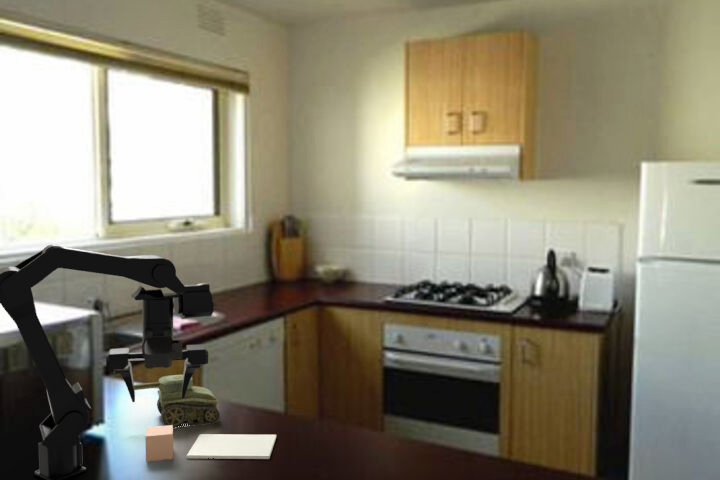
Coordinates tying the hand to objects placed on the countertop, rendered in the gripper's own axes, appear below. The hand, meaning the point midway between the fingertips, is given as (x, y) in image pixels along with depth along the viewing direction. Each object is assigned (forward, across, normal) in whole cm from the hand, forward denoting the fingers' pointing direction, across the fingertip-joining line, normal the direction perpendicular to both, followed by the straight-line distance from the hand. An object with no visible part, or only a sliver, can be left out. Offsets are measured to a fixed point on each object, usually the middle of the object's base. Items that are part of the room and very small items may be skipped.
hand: (158, 399), depth 132 cm
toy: (+11, +3, +18) cm, 22 cm away
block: (+11, 0, 0) cm, 11 cm away
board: (+11, +14, -1) cm, 18 cm away
